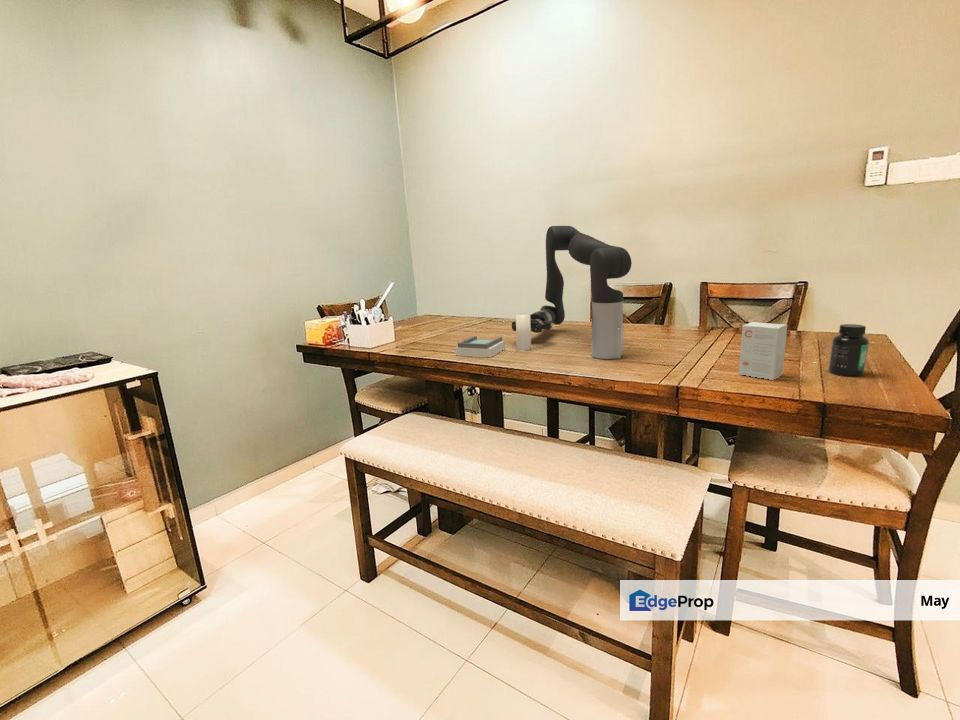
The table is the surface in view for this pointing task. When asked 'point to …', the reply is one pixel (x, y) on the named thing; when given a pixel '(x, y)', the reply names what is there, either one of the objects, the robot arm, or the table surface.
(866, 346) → the supplement bottle
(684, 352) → the table surface
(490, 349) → the tray
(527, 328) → the canister
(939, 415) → the table surface
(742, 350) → the small box
